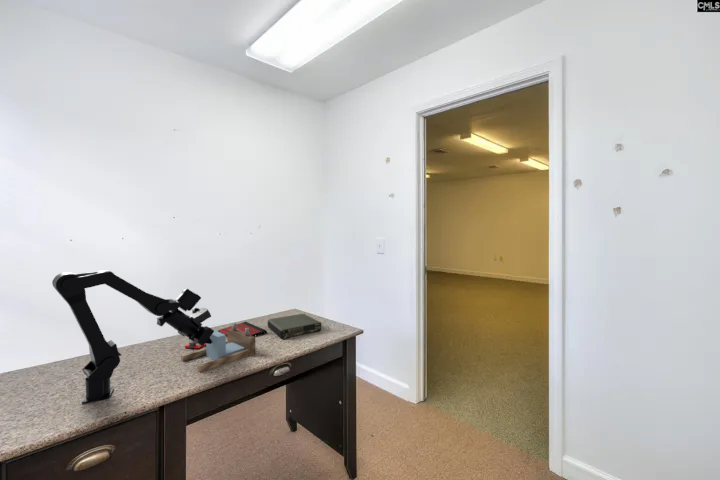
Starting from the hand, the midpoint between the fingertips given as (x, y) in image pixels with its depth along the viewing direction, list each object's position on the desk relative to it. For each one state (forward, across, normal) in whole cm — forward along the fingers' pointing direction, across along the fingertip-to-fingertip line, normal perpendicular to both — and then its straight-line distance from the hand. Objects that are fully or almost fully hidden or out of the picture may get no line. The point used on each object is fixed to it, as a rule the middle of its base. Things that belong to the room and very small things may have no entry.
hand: (211, 342), depth 120 cm
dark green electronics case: (+36, +3, -26) cm, 44 cm away
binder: (+22, +20, -12) cm, 32 cm away
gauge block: (+9, 0, +1) cm, 9 cm away
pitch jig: (+7, 0, +3) cm, 7 cm away
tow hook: (+7, +19, +2) cm, 21 cm away
